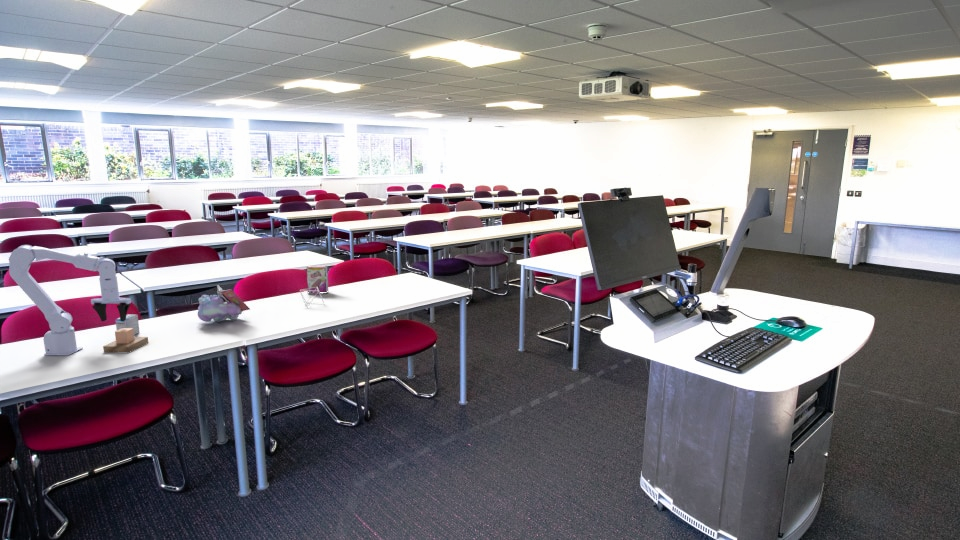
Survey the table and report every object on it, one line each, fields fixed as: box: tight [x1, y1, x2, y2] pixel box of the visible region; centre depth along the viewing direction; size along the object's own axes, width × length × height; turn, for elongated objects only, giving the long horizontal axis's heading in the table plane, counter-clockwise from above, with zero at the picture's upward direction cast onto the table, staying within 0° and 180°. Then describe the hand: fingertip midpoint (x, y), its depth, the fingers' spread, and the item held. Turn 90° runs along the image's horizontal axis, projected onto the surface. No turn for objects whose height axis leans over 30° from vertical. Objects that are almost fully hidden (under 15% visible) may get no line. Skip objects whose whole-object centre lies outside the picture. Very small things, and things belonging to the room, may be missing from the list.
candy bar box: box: [306, 265, 329, 293], centre depth 301 cm, size 11×5×16 cm, turn 93°
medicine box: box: [114, 313, 140, 336], centre depth 222 cm, size 8×4×9 cm, turn 178°
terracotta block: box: [114, 328, 135, 343], centre depth 207 cm, size 4×4×5 cm
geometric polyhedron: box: [299, 287, 325, 308], centre depth 275 cm, size 12×11×9 cm
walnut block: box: [102, 336, 149, 353], centre depth 208 cm, size 10×12×3 cm
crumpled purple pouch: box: [197, 284, 251, 323], centre depth 242 cm, size 20×22×18 cm
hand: (113, 320), depth 209 cm, fingers open, 7 cm apart
